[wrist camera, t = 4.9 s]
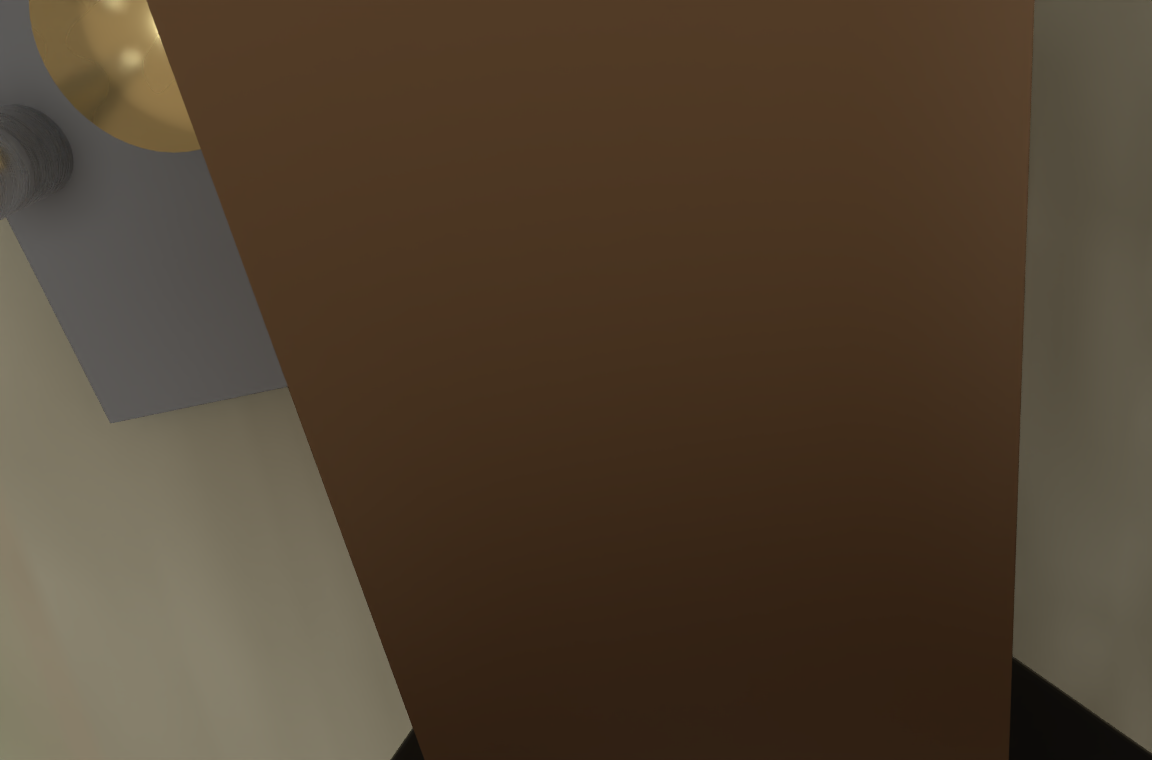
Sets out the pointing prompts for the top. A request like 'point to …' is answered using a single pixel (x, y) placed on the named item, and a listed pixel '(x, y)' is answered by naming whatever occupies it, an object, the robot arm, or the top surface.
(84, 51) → the yellow-brown curved piece
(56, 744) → the top surface
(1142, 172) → the top surface
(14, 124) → the pair of rounded blocks
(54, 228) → the mat
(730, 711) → the brown rectangular block
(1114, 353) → the top surface
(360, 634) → the top surface
